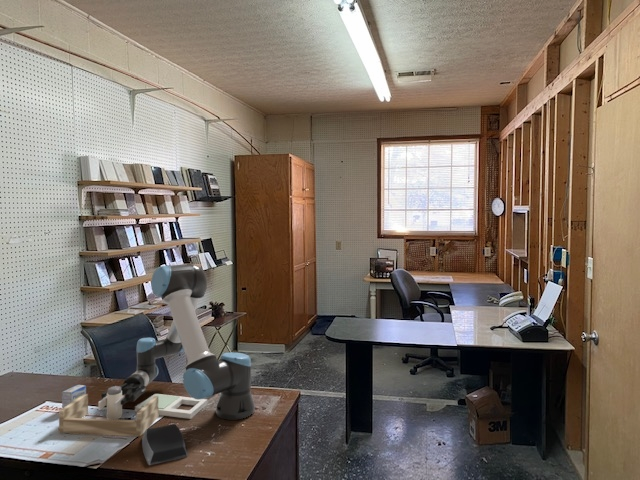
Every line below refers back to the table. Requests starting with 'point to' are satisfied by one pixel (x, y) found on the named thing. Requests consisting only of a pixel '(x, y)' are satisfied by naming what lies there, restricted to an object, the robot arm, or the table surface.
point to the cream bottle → (112, 397)
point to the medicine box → (72, 394)
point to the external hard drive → (163, 444)
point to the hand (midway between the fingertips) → (107, 406)
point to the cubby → (105, 420)
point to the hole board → (175, 405)
